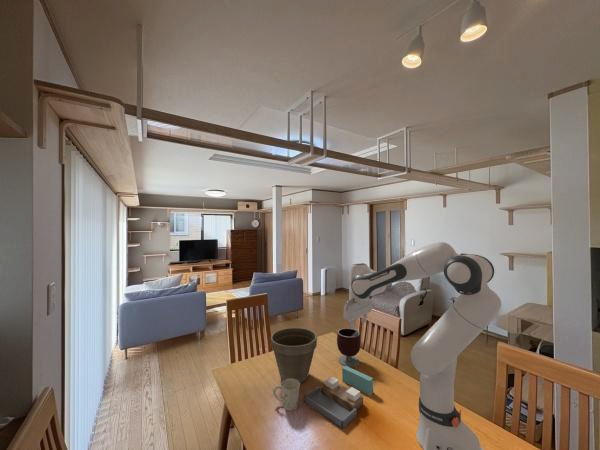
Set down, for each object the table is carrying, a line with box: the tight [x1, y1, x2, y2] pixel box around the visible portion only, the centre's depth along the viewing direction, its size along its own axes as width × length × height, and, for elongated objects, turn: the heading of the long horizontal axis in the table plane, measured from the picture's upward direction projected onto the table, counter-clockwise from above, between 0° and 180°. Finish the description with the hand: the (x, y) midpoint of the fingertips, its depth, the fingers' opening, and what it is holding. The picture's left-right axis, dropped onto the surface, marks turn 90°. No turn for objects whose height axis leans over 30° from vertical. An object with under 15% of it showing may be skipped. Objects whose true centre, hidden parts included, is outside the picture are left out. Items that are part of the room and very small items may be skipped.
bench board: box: [320, 383, 364, 411], centre depth 116 cm, size 18×8×4 cm, turn 44°
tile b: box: [324, 376, 340, 389], centre depth 121 cm, size 4×4×2 cm
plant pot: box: [270, 327, 318, 384], centre depth 135 cm, size 25×25×22 cm
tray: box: [303, 385, 358, 430], centre depth 110 cm, size 22×10×3 cm, turn 44°
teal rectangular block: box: [341, 366, 374, 396], centre depth 125 cm, size 16×3×7 cm, turn 44°
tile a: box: [346, 386, 361, 402], centre depth 112 cm, size 4×4×2 cm
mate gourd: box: [336, 327, 362, 368], centre depth 149 cm, size 16×14×20 cm
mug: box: [272, 378, 301, 412], centre depth 112 cm, size 8×13×10 cm, turn 78°
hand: (358, 324), depth 122 cm, fingers open, 8 cm apart
